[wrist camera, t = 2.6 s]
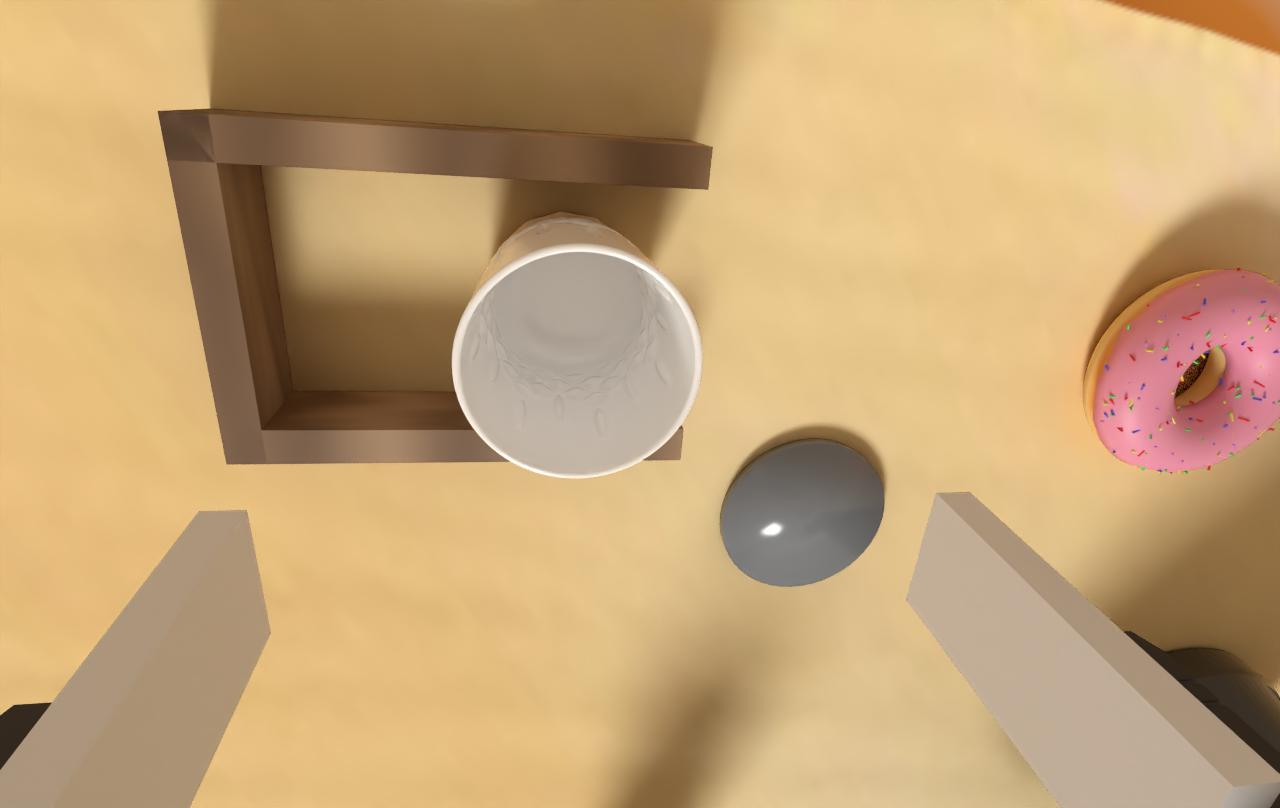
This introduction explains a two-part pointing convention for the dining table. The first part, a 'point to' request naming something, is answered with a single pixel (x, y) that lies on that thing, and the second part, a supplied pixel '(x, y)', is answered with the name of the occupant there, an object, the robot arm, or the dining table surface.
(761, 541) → the coaster
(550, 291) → the white cup
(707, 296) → the dining table surface
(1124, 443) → the doughnut
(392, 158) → the brown wooden tray
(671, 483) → the dining table surface
